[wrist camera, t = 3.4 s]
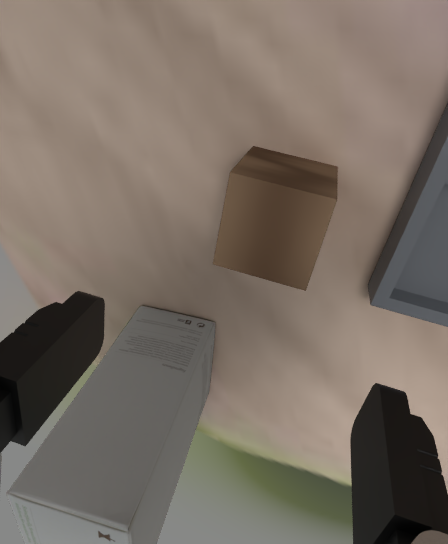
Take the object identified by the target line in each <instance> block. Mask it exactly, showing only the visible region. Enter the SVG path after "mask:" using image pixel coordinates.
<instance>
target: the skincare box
mask: <svg viewBox="0 0 448 544" xmlns="http://www.w3.org/2000/svg"><path fill="white" fill-rule="evenodd" d="M214 338H215V322H212V321H208V320H204V319H200V318H195V317H191V316H187V315H183V314H178V313H174V312H169V311H164V310H160V309H156V308H151V307H146V306H140V307H139V308H138V310H137V311H136V312H135V314H134V315H133V317H132V318H131V320H130V321H129V322H128V324H127V325H126V326H125V328H124V329H123V331H122V332H121V334H120V335H119V336H118V338H117V339H116V340H115V342H114V343H113V345H112V346H111V348H110V349H109V350H108V352H107V353H106V355H105V356H104V357H103V359H102V360H101V362H100V363H99V365H98V366H97V367H96V369H95V370H94V372H93V373H92V374H91V376H90V377H89V379H88V380H87V381H86V383H85V384H84V386H83V387H82V388H81V390H80V391H79V393H78V394H77V395H76V397H75V398H74V400H73V401H72V403H71V404H70V405H69V407H68V408H67V409H66V411H65V412H64V414H63V415H62V417H61V418H60V419H59V421H58V422H57V423H56V425H55V426H54V428H53V429H52V430H51V432H50V433H49V435H48V436H47V438H46V439H45V440H44V442H43V443H42V445H41V446H40V447H39V449H38V450H37V452H36V453H35V455H34V456H33V458H32V459H31V460H30V462H29V463H28V464H27V465H26V467H25V468H24V470H23V471H22V472H21V474H20V475H19V477H18V478H17V480H16V481H15V482H14V483H13V485H12V486H11V488H10V489H9V490H8V491H7V493H6V495H7V497H8V500H9V503H10V505H11V508H12V511H13V513H14V516H15V519H16V521H17V524H18V527H19V530H20V533H21V535H22V538H23V541H24V543H25V544H157V541H158V538H159V535H160V533H161V529H162V527H163V524H164V521H165V518H166V515H167V512H168V509H169V506H170V503H171V500H172V497H173V495H174V492H175V489H176V486H177V483H178V480H179V477H180V474H181V471H182V469H183V466H184V463H185V460H186V457H187V454H188V451H189V448H190V445H191V442H192V439H193V436H194V433H195V430H196V427H197V425H198V422H199V419H200V416H201V413H202V410H203V408H204V405H205V402H206V399H207V396H208V394H209V388H210V379H211V369H212V359H213V349H214Z"/></svg>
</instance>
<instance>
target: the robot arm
mask: <svg viewBox="0 0 448 544" xmlns="http://www.w3.org/2000/svg"><path fill="white" fill-rule="evenodd" d="M104 310H105V303H104V299H103V298H100V297H97V296H94V295H91V294H87V293H84V292H81V291H77V292H75V293H74V294H73V295H72V296H71V297H70V298H68V299H67V300H66V301H65V302H64V303H63V304H61V303H57V302H55V303H53V304H50V305H48V306H46V307H44V308H41V309H39V310H38V311H36V312H35V313H34V314H33V315H32V316H31V317H29V318H28V319H27V320H26V322H25V323H22V324H21V325H20V326H19V327H18V328H17V329H15V331H14V333H11V334H10V335H8V336H7V337H6V338H5V339H4V340H3V341H1V342H0V482H1V459H2V456H1V452H2V450H3V449H4V448H5V447H6V446H7V445H8V443H9V442H10V441H12V442H16V443H18V444H21V445H23V446H26V445H27V444H28V442H29V441H30V440H31V439H32V437H33V436H34V435H35V434H36V432H37V431H38V430H39V429H40V427H41V426H42V425H43V423H44V422H45V421H46V420H47V419H48V417H49V416H50V415H51V413H52V412H53V411H54V410H55V409H56V407H57V406H58V405H59V403H60V402H61V401H62V400H63V398H64V397H65V396H66V395H67V393H68V392H69V391H70V390H71V388H72V387H73V386H74V384H75V383H76V382H77V381H78V380H79V378H80V377H81V376H82V375H83V373H84V372H85V371H86V370H87V368H88V367H89V366H90V365H91V363H92V362H93V361H94V360H95V358H96V357H97V355H98V354H99V352H100V350H101V347H102V344H103V340H104ZM441 473H442V469H441V465H440V461H439V459H438V453H437V449H436V445H435V440H434V436H433V435H432V433H431V432H430V430H429V429H428V427H427V425H426V424H425V422H424V421H423V419H422V418H421V417H418V416H415V415H412V414H410V409H409V404H408V399H407V395H406V393H405V392H404V391H400V390H397V389H394V388H391V387H387V386H384V385H381V384H378V383H376V384H374V385H373V387H372V388H371V390H370V392H369V394H368V396H367V398H366V400H365V402H364V403H363V405H362V407H361V409H360V411H359V413H358V415H357V417H356V419H355V421H354V424H353V427H352V432H351V478H352V513H353V544H448V494H447V490H446V486H445V481H444V477H443V475H441Z"/></svg>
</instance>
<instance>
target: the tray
mask: <svg viewBox="0 0 448 544" xmlns="http://www.w3.org/2000/svg"><path fill="white" fill-rule="evenodd" d="M368 289H369V297H370V305H372V306H376V307H379V308H383V309H386V310H390V311H394V312H397V313H401V314H404V315H408V316H411V317H415V318H418V319H422V320H425V321H429V322H432V323H436V324H439V325H443V326H446V327H448V104H447V106H446V108H445V110H444V113H443V115H442V117H441V120H440V122H439V124H438V126H437V129H436V131H435V133H434V136H433V138H432V140H431V142H430V145H429V147H428V149H427V152H426V154H425V156H424V158H423V161H422V163H421V165H420V167H419V170H418V172H417V174H416V177H415V179H414V181H413V183H412V186H411V188H410V190H409V193H408V195H407V197H406V199H405V202H404V204H403V206H402V209H401V211H400V213H399V215H398V218H397V220H396V222H395V224H394V227H393V229H392V231H391V234H390V236H389V238H388V240H387V243H386V245H385V247H384V250H383V252H382V254H381V256H380V259H379V261H378V263H377V266H376V268H375V270H374V272H373V275H372V277H371V279H370V281H369V284H368Z"/></svg>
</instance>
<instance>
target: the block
mask: <svg viewBox="0 0 448 544" xmlns="http://www.w3.org/2000/svg"><path fill="white" fill-rule="evenodd" d="M337 172H338V167H337V166H333V165H329V164H325V163H320V162H316V161H312V160H308V159H304V158H300V157H296V156H292V155H288V154H284V153H280V152H275V151H271V150H267V149H263V148H259V147H255V146H253V147H252V148H251V149H250V151H249V152H248V153H247V154H246V155H245V156H244V157H243V158H242V160H241V161H240V162H239V163H238V164H237V165H236V166H235V167H234V168H233V170H232V171H231V172H230V175H229V181H228V186H227V191H226V197H225V202H224V207H223V212H222V218H221V223H220V228H219V234H218V239H217V244H216V250H215V255H214V260H213V264H214V265H217V266H221V267H224V268H228V269H231V270H235V271H238V272H242V273H245V274H249V275H252V276H256V277H259V278H263V279H266V280H270V281H273V282H277V283H280V284H284V285H287V286H291V287H294V288H298V289H301V290H305V291H306V289H307V286H308V283H309V280H310V277H311V274H312V271H313V268H314V265H315V262H316V260H317V257H318V254H319V251H320V248H321V245H322V242H323V239H324V236H325V233H326V231H327V228H328V225H329V222H330V219H331V216H332V213H333V210H334V207H335V204H336V202H337Z"/></svg>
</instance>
